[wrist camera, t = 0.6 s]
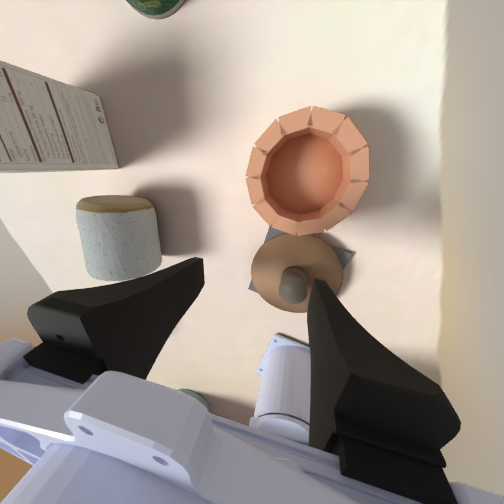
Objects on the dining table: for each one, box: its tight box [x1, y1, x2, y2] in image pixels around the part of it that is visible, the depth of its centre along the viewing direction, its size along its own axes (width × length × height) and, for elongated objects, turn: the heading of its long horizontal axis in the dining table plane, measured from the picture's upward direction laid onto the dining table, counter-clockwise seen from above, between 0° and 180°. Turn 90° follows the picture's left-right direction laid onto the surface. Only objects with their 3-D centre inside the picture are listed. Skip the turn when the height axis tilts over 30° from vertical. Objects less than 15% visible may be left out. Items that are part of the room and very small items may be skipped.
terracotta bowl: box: [246, 106, 369, 236], centre depth 17 cm, size 9×9×4 cm
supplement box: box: [0, 61, 118, 173], centre depth 17 cm, size 7×7×13 cm
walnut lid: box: [251, 233, 343, 313], centre depth 21 cm, size 10×10×4 cm
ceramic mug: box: [76, 195, 162, 281], centre depth 22 cm, size 11×8×8 cm
